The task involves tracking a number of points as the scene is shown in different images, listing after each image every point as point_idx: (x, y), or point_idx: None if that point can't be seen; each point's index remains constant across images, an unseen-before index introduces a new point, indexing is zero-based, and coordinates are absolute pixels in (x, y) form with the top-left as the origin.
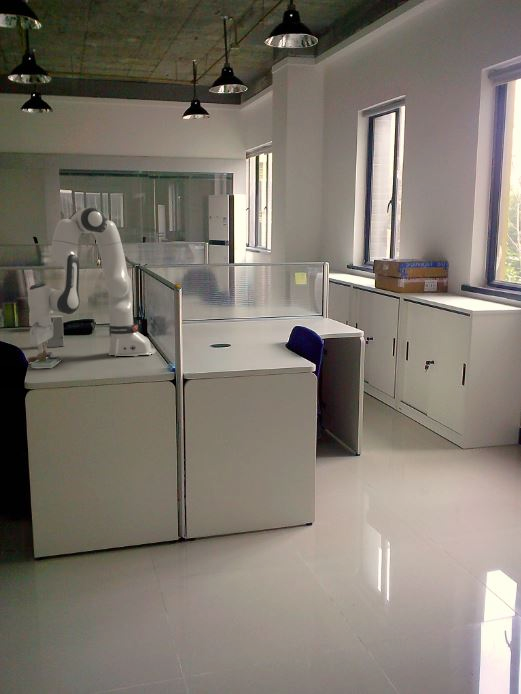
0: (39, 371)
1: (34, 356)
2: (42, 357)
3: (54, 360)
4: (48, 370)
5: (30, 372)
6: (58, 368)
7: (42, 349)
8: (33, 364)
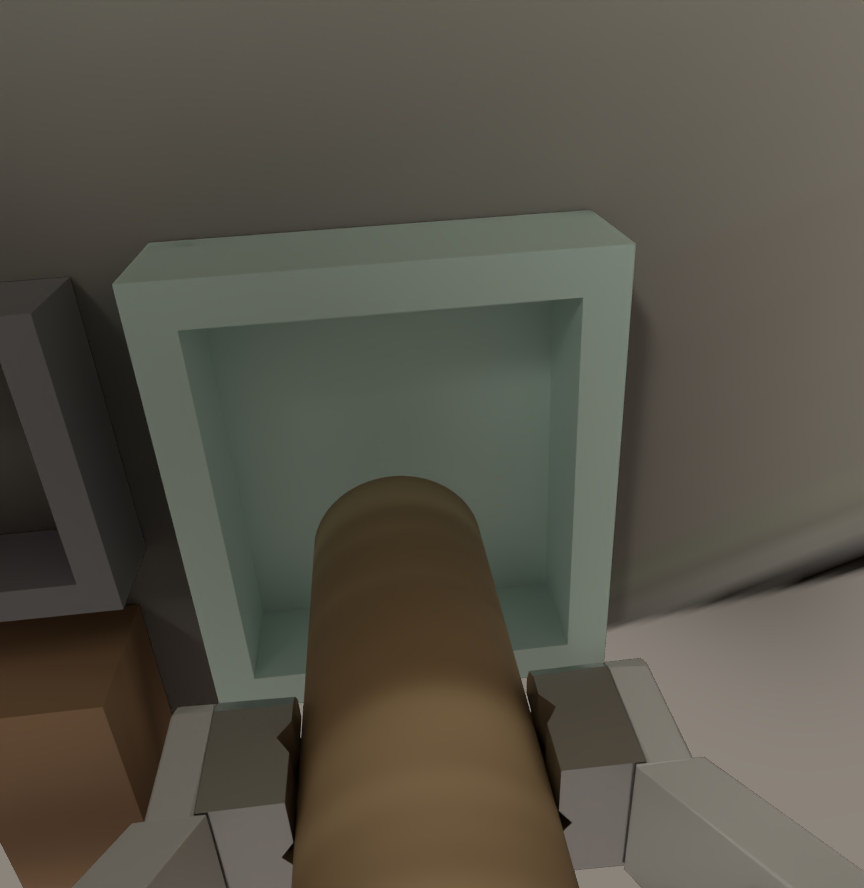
0: (786, 383)
1: (12, 857)
2: (494, 584)
3: (264, 304)
4: (733, 227)
5: (828, 508)
6: (552, 46)
7: (663, 740)
8: (601, 620)
